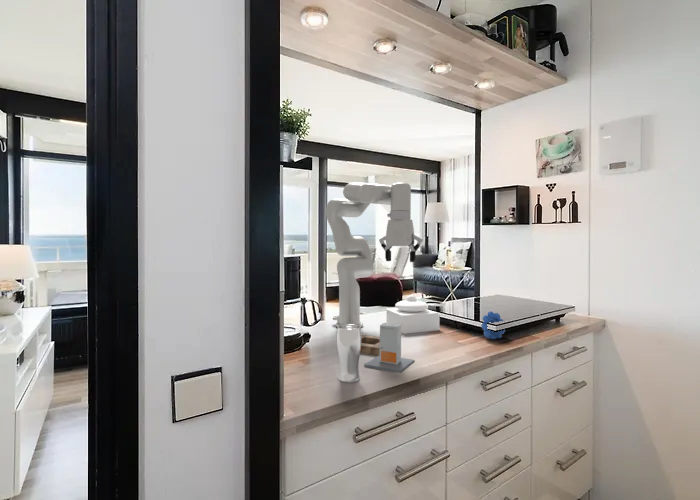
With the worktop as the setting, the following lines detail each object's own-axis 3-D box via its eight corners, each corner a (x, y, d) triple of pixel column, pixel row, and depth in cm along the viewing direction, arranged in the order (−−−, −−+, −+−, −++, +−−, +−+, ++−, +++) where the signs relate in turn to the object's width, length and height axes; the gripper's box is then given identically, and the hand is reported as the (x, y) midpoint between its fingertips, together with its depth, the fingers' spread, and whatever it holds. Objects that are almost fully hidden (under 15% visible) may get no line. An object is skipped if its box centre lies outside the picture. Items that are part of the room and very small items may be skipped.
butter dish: (439, 333, 161) (439, 296, 161) (401, 336, 155) (401, 298, 155) (419, 324, 177) (420, 292, 177) (385, 327, 172) (385, 293, 172)
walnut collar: (343, 350, 133) (343, 342, 133) (362, 342, 145) (362, 334, 145) (378, 356, 126) (378, 348, 126) (394, 347, 138) (394, 339, 138)
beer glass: (341, 373, 110) (341, 323, 109) (364, 376, 108) (364, 324, 107) (333, 381, 103) (333, 328, 103) (357, 384, 101) (357, 330, 101)
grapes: (490, 345, 140) (490, 314, 140) (477, 341, 146) (477, 311, 146) (512, 342, 145) (512, 311, 145) (499, 338, 151) (499, 309, 151)
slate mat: (364, 367, 115) (364, 364, 115) (381, 357, 126) (381, 354, 126) (399, 374, 109) (399, 370, 109) (414, 362, 120) (414, 359, 119)
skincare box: (379, 362, 117) (379, 324, 116) (383, 358, 120) (383, 322, 120) (397, 365, 114) (397, 326, 114) (401, 361, 118) (401, 324, 118)
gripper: (375, 216, 140) (375, 261, 141) (418, 214, 132) (418, 262, 132) (384, 217, 147) (383, 260, 147) (425, 216, 138) (425, 261, 138)
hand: (400, 261), depth 140 cm, fingers open, 9 cm apart
